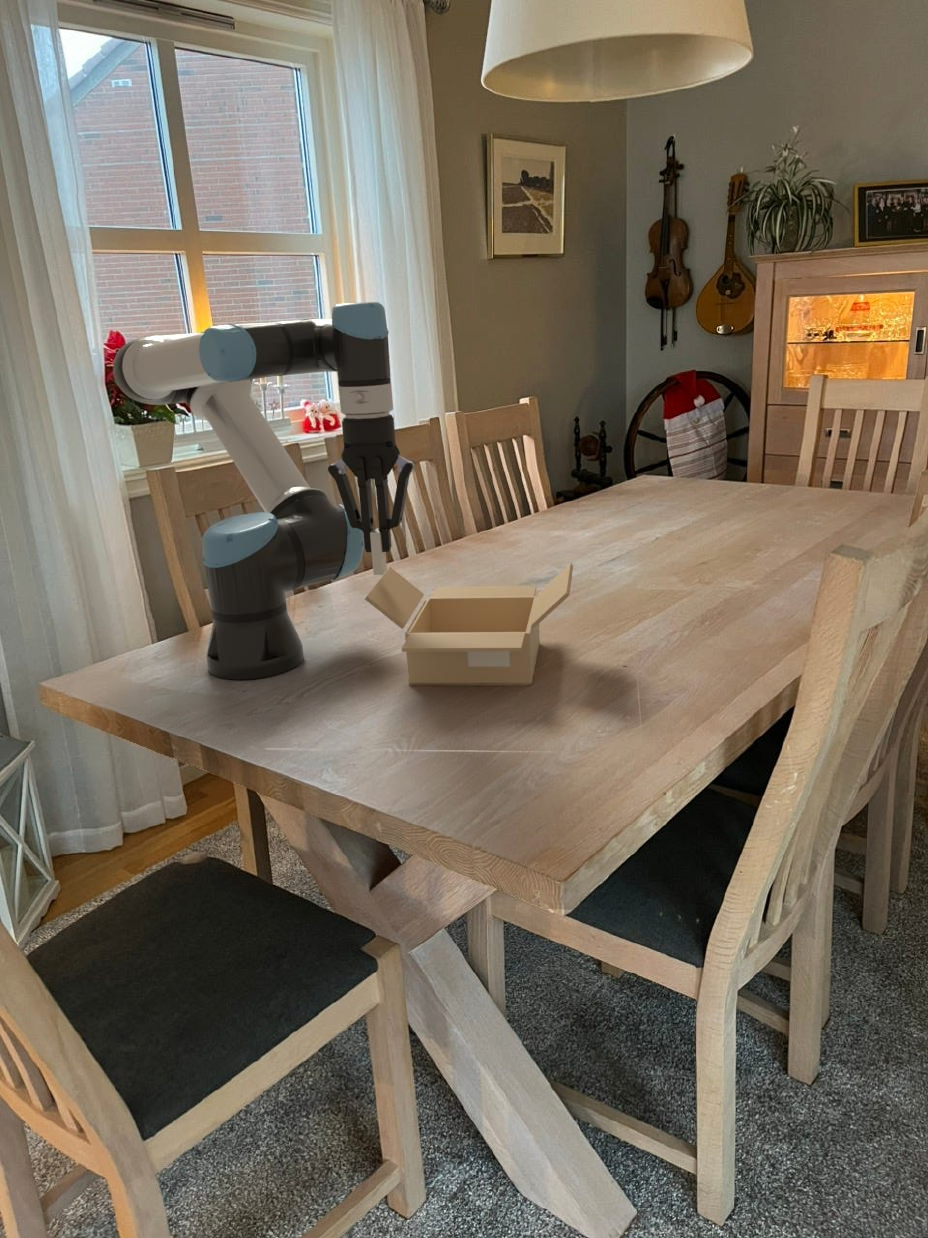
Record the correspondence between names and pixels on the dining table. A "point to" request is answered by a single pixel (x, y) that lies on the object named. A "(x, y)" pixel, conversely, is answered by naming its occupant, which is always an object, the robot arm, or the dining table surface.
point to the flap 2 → (552, 595)
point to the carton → (474, 637)
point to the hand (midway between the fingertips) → (380, 572)
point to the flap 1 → (395, 597)
